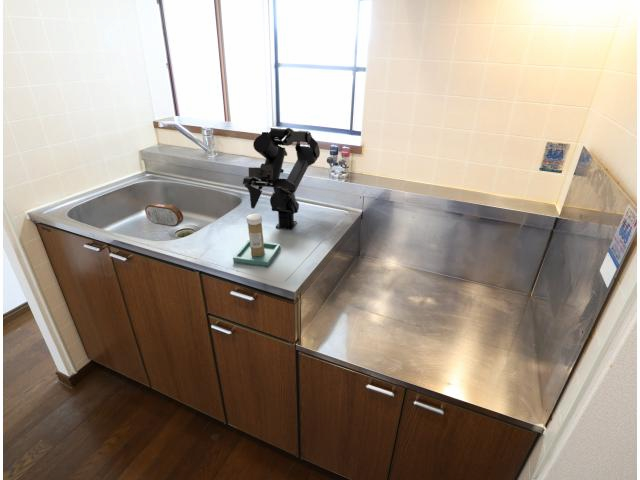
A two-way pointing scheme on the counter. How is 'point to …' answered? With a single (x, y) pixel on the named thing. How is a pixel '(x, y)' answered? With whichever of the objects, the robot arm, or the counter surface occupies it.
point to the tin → (164, 214)
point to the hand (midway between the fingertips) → (262, 209)
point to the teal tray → (262, 261)
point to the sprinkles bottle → (256, 234)
